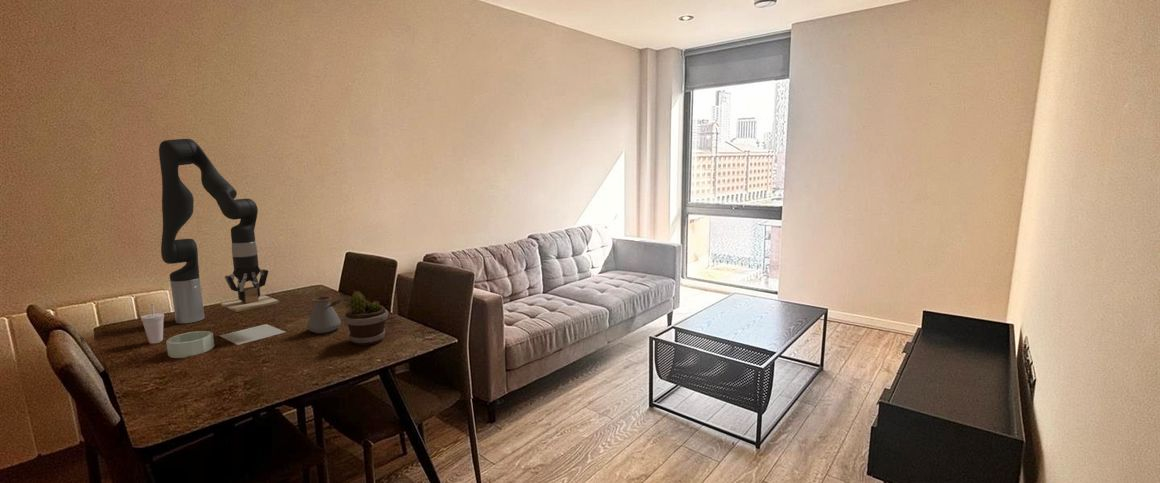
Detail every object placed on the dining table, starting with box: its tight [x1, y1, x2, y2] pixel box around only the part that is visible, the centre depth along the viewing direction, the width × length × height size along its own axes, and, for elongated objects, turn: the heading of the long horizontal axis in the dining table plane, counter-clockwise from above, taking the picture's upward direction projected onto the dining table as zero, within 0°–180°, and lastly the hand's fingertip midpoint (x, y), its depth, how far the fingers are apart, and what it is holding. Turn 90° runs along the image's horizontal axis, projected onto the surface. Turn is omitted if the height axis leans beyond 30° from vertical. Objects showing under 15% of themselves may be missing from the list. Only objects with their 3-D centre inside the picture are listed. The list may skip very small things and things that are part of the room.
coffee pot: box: [306, 295, 344, 334], centre depth 182 cm, size 21×12×15 cm, turn 49°
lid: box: [219, 286, 281, 313], centre depth 180 cm, size 14×14×6 cm
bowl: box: [165, 330, 215, 359], centre depth 166 cm, size 12×12×5 cm
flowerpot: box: [342, 290, 389, 346], centre depth 175 cm, size 14×15×20 cm
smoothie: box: [140, 303, 165, 345], centre depth 174 cm, size 6×6×14 cm
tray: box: [219, 323, 286, 346], centre depth 182 cm, size 16×16×1 cm
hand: (249, 299), depth 181 cm, fingers closed on lid, 4 cm apart
